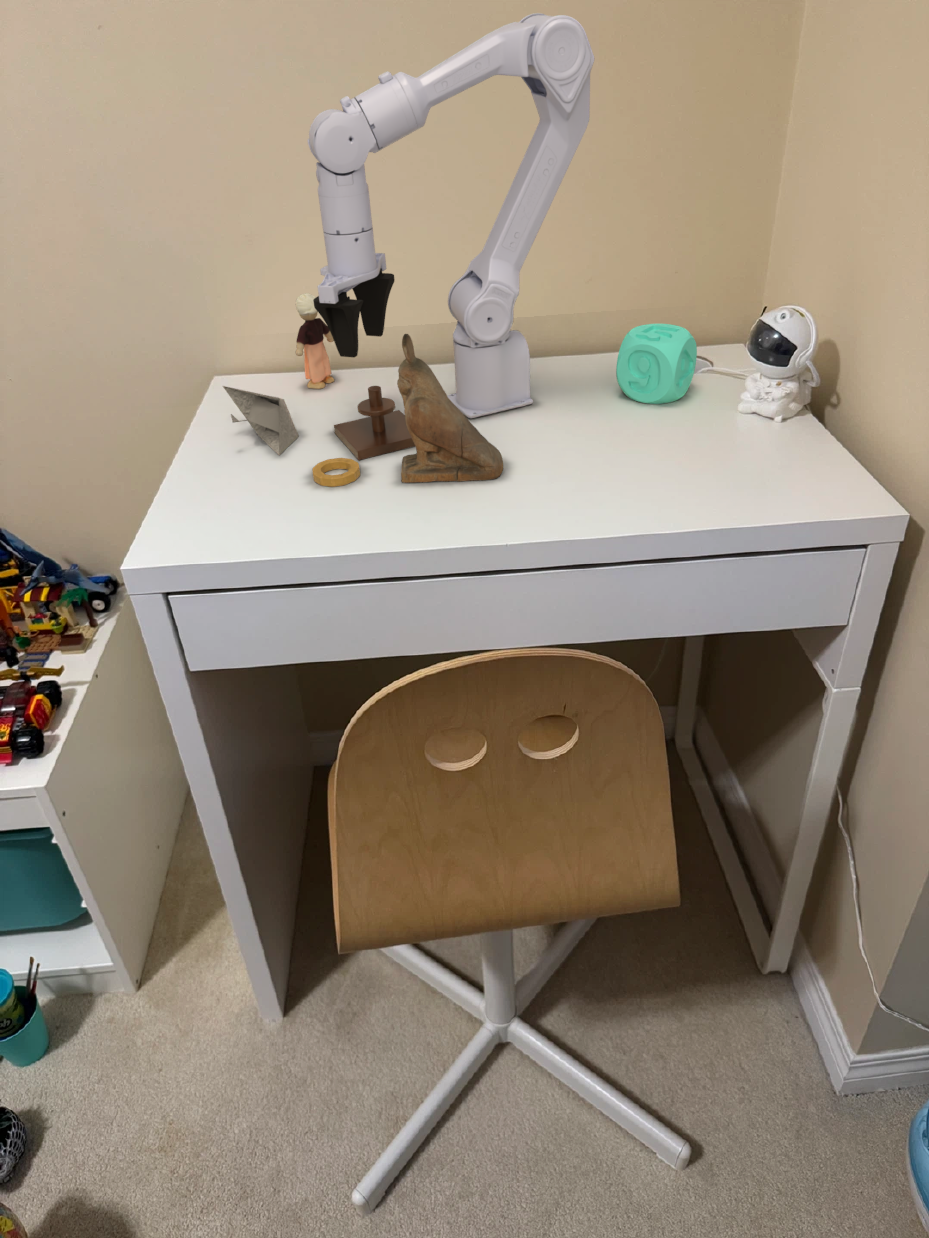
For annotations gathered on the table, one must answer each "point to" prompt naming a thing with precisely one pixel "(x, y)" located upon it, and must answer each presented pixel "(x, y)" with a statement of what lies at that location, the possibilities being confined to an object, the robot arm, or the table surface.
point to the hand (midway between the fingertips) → (361, 345)
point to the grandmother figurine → (313, 343)
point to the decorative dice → (656, 363)
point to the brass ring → (340, 478)
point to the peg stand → (375, 428)
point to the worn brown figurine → (440, 430)
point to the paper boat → (266, 417)
